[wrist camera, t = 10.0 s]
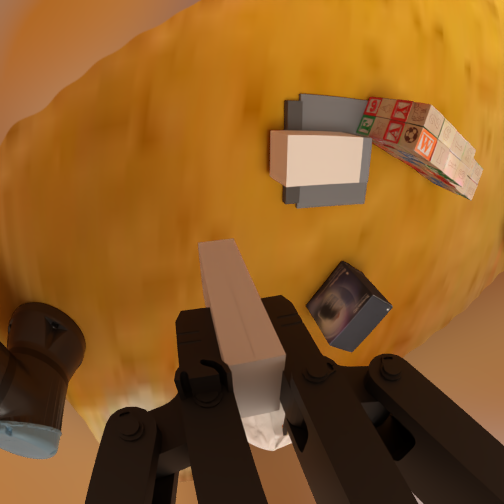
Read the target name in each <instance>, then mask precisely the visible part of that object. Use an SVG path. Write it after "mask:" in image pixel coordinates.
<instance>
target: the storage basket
mask: <svg viewBox="0 0 504 504" xmlns="http://www.w3.org/2000/svg"><path fill="white" fill-rule="evenodd" d="M284 418H285V412H284V410H283V407H282V405H281V402H280V409H279V410H278V411H273V412H269V413H265V414H260V415H256V416H251V417H246V418H241V420H242V423H243V427H244V430H245V433H246V437H247V440H248V442H249V443H251V444H252V445H255V446H256V447H259V448H262V449H265V450H271V451H275V450H276V449H278V448H281V447H283V446H286V445H288V444H290V443H292V442H291V439H290V437H289V434H288V432H287V435H284V436H283V430H282V425H283V424H284Z"/></svg>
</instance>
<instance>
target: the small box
mask: <svg viewBox="0 0 504 504" xmlns="http://www.w3.org/2000/svg"><path fill="white" fill-rule="evenodd" d="M306 307H307V308H308V310H309V312H310V313H311V315H312V316H313V318H314V320H315V321H316V323H317V325H318V326H319V328H320V330H321V331H322V333H323V335H324V337H325V338H326V340H327V342H328V343H329V345H330V346H333V347H336V348H339V349H343V350H346V351H349V352H353V351H354V350H355V349H356V348H357V347H358V346H359V345H360V343H361V342H362V341H363V340H364V339H365V338H366V337H367V336H368V335H369V334H370V333H371V332H372V330H373V329H374V328H375V327H376V326H377V325H378V324H379V323H380V321H381V320H382V319H383V318H384V317H385V316H386V315H387V313H388V312H389V311H390V310H391V309H392V307H393V306H392V305H391V304H390V303H389V302H388V301H387V299H386V298H385V297H384V296H383V295H382V294H381V293H380V292H379V291H378V290H377V288H376V287H375V286H374V285H373V284H372V283H371V282H370V281H369V280H368V279H367V278H366V277H365V275H364V274H363V273H362V272H361V271H359V270H357V269H355V268H354V267H352V266H351V265H350V264H348V263H346V262H344V261H341V263H340V264H339V265H338V267H337V268H336V269H335V270H334V272H333V273H332V274H331V275H330V277H329V278H328V279H327V280H326V282H325V283H324V284H323V285H322V287H321V288H320V289H319V290H318V291H317V293H316V294H315V295H314V296H313V297H312V299H311V300H310V301H309V302H308V303H307V305H306Z"/></svg>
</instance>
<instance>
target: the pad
mask: <svg viewBox="0 0 504 504" xmlns="http://www.w3.org/2000/svg"><path fill="white" fill-rule="evenodd" d="M367 103H368V101H365V100H358V99H351V98H342V97H333V96H323V95H311V94H299V101H286V100H285V114H284V130H300V131H333V132H350V133H354V134H357V133H356V132H357V129H358V127H359V124H360V122H361V119H362V117H363V115H364V111H365V109H366V106H367ZM358 135H359V134H358ZM366 186H367V182H364V183H342V184H324V185H309V186H295V187H285V186H284V185H283V202H284V203H285V204H294V203H296V208H308V207H321V206H335V205H350V204H364V202H365V194H366Z"/></svg>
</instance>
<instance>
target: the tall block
mask: <svg viewBox="0 0 504 504" xmlns="http://www.w3.org/2000/svg"><path fill="white" fill-rule="evenodd" d="M371 147H372V138H370V137H366V136H362V135H358V134H354V133H350V132H333V131H300V130H271V131H270V177H271V178H273V179H274V180H276V181H277V182H279V183H281V184H282V185H284V186H285V187H295V186H309V185H324V184H342V183H364V182H368V176H369V167H370V157H371Z"/></svg>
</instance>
